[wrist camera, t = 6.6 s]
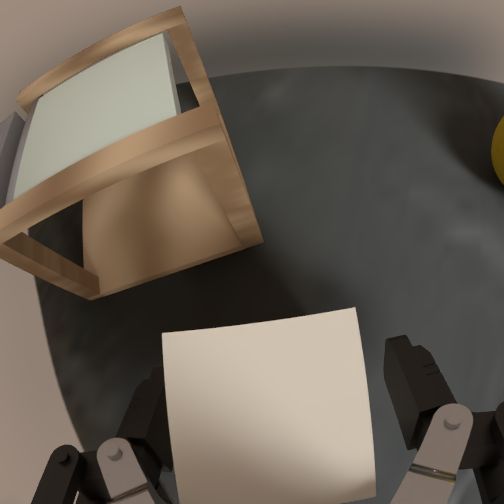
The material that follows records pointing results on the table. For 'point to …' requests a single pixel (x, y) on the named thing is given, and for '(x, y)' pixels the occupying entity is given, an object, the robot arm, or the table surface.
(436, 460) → the robot arm
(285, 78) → the table surface
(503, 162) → the lemon
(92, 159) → the frame
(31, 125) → the door
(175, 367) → the block
